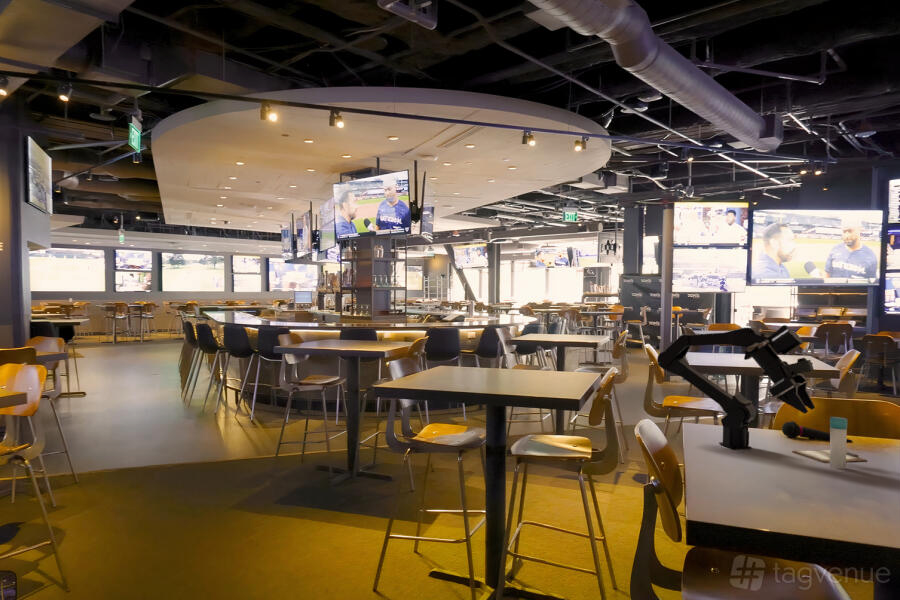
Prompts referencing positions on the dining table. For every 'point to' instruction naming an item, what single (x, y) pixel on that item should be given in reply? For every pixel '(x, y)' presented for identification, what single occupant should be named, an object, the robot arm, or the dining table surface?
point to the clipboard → (826, 455)
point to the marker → (838, 442)
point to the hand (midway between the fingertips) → (810, 410)
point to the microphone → (804, 432)
